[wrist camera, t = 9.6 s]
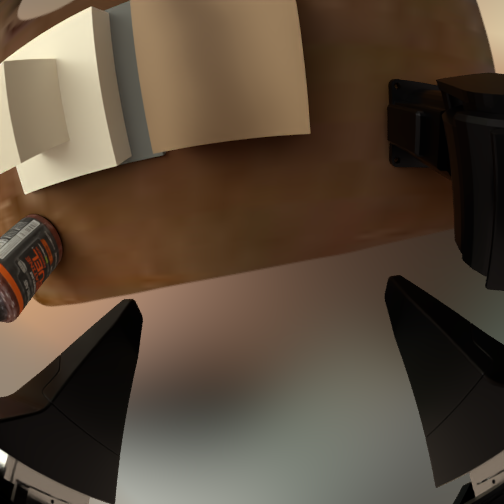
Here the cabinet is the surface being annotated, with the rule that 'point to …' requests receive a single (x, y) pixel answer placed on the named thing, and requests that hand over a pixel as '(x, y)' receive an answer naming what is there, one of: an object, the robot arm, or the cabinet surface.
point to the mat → (129, 83)
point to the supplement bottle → (26, 262)
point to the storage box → (219, 70)
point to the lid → (62, 104)
